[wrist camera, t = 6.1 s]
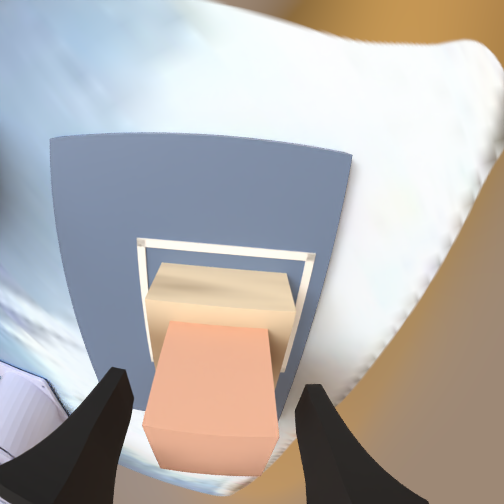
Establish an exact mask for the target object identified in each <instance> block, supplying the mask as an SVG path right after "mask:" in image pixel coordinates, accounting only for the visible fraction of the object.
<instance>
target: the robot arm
mask: <svg viewBox="0 0 504 504" xmlns="http://www.w3.org/2000/svg"><path fill="white" fill-rule="evenodd" d="M0 375H1V377H2V379H1V380H0V504H113V495H114V484H115V477H116V470H117V465H118V460H119V457H120V453H121V450H122V446H123V443H124V439H125V436H126V433H127V429H128V426H129V423H130V419H131V414H132V409H133V403H134V395H133V392H132V389H131V386H130V382H129V379H128V376H127V372H126V369H121V368H116V367H111V368H110V369H109V370H108V372H107V373H106V374H105V375H104V377H103V378H102V379H101V381H100V382H99V383H98V384H97V386H96V387H95V388H94V389H93V390H92V392H91V393H90V394H89V395H88V396H87V397H86V399H85V400H84V401H83V402H82V403H81V404H80V406H79V407H78V408H77V409H76V410H75V411H74V412H73V413H72V414H71V415H70V416H69V417H68V415H67V414H66V412H65V411H64V409H63V408H62V406H61V405H60V403H59V401H58V400H57V398H56V397H55V395H54V393H53V392H52V390H51V388H50V387H49V385H48V383H47V382H46V380H44V379H43V378H40V377H38V376H35V375H32V374H30V373H27V372H24V371H22V370H19V369H17V368H15V367H12V366H10V365H7V364H5V363H3V362H1V361H0ZM295 423H296V434H297V439H298V444H299V450H300V454H301V460H302V465H303V470H304V476H305V482H306V496H307V504H429V503H428V501H427V500H425V499H423V498H422V497H420V496H418V495H417V494H415V493H414V492H412V491H411V490H409V489H408V488H406V487H405V486H403V485H402V484H401V483H399V482H398V481H397V480H396V479H394V478H393V477H392V476H391V475H390V474H388V473H387V472H386V471H385V470H384V469H383V468H382V467H381V466H380V465H379V464H378V463H377V462H375V460H374V459H373V458H372V457H371V456H370V455H369V454H368V453H367V452H366V450H365V449H364V448H363V447H362V446H361V444H360V443H359V442H358V441H357V439H356V438H355V437H354V436H353V434H352V433H351V431H350V430H349V429H348V428H347V426H346V424H345V423H344V421H343V420H342V419H341V417H340V415H339V414H338V412H337V411H336V409H335V407H334V406H333V404H332V402H331V401H330V399H329V397H328V396H327V394H326V392H325V390H324V389H323V387H322V385H321V384H306V386H305V388H304V390H303V393H302V395H301V398H300V400H299V402H298V405H297V407H296V409H295Z"/></svg>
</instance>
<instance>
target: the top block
mask: <svg viewBox="0 0 504 504" xmlns="http://www.w3.org/2000/svg"><path fill="white" fill-rule="evenodd" d="M142 426H143V429H144V431H145V434H146V436H147V439H148V441H149V443H150V446H151V448H152V450H153V453H154V455H155V457H156V459H157V461H158V464H159V466H160V468H162V469H168V470H175V471H182V472H190V473H200V474H211V475H227V476H261V475H262V473H263V471H264V469H265V467H266V464H267V462H268V460H269V458H270V456H271V454H272V452H273V450H274V447H275V445H276V443H277V441H278V439H279V429H278V420H277V410H276V401H275V391H274V382H273V373H272V364H271V355H270V346H269V336H268V329H263V328H247V327H233V326H220V325H208V324H198V323H188V322H179V321H170V322H169V326H168V329H167V332H166V336H165V339H164V343H163V346H162V350H161V353H160V357H159V361H158V364H157V368H156V372H155V376H154V379H153V383H152V387H151V391H150V395H149V399H148V403H147V407H146V411H145V415H144V420H143V424H142Z"/></svg>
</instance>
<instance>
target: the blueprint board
mask: <svg viewBox="0 0 504 504" xmlns="http://www.w3.org/2000/svg"><path fill="white" fill-rule="evenodd" d="M352 156H353V155H351V154H348V153H345V152H340V151H335V150H330V149H324V148H319V147H313V146H307V145H300V144H294V143H287V142H279V141H272V140H263V139H255V138H245V137H234V136H222V135H208V134H189V133H105V134H88V135H74V136H63V137H56V138H52V139H50V168H51V184H52V196H53V205H54V214H55V222H56V229H57V235H58V241H59V247H60V252H61V258H62V263H63V268H64V272H65V277H66V281H67V285H68V289H69V293H70V297H71V301H72V305H73V308H74V312H75V315H76V319H77V322H78V325H79V329H80V332H81V335H82V338H83V341H84V344H85V347H86V349H87V352H88V355H89V358H90V361H91V363H92V366H93V368H94V371H95V373H96V376H97V378H98V381H99V382H100V381H101V379H102V378H103V377H104V375H105V374H106V373H107V372H108V370H109V369H110V368H111V367H116V368H121V369H126V372H127V376H128V379H129V382H130V386H131V389H132V392H133V395H134V403H133V409H137V410H142V411H146V407H147V403H148V399H149V395H150V391H151V387H152V383H153V379H154V376H155V372H156V371H155V366H154V360H153V354H152V348H151V342H150V335H149V328H148V321H147V313H146V305H145V297H146V295H147V293H148V291H149V289H150V286H151V284H152V282H153V280H154V278H155V276H156V274H157V272H158V270H159V268H160V265H161V263H162V262H163V263H173V264H184V265H195V266H206V267H217V268H228V269H240V270H252V271H265V272H277V273H287V277H288V281H289V285H290V289H291V293H292V297H293V301H294V305H295V308H296V315H295V319H294V323H293V327H292V331H291V334H290V338H289V342H288V346H287V349H286V353H285V356H284V360H283V364H282V367H281V371H280V374H279V378H278V381H277V384H276V388H275V401H276V410H277V420H278V421H279V418H280V416H281V413H282V410H283V408H284V405H285V402H286V400H287V397H288V394H289V391H290V389H291V386H292V383H293V380H294V377H295V374H296V371H297V369H298V366H299V363H300V360H301V357H302V354H303V351H304V347H305V344H306V341H307V338H308V335H309V332H310V328H311V325H312V322H313V319H314V315H315V312H316V308H317V305H318V302H319V298H320V295H321V291H322V287H323V284H324V280H325V276H326V273H327V269H328V265H329V261H330V257H331V253H332V249H333V245H334V241H335V237H336V233H337V228H338V224H339V220H340V215H341V211H342V206H343V202H344V197H345V192H346V187H347V182H348V177H349V172H350V167H351V161H352Z"/></svg>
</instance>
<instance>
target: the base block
mask: <svg viewBox="0 0 504 504" xmlns="http://www.w3.org/2000/svg"><path fill="white" fill-rule="evenodd" d="M145 305H146V313H147V321H148V328H149V335H150V342H151V348H152V354H153V360H154V366H155V371H156V368H157V364H158V361H159V357H160V353H161V350H162V346H163V343H164V339H165V336H166V332H167V329H168V326H169V322H170V321H179V322H188V323H198V324H208V325H220V326H233V327H247V328H263V329H268V336H269V346H270V355H271V364H272V373H273V382H274V391H275V388H276V384H277V381H278V378H279V374H280V371H281V367H282V364H283V360H284V356H285V353H286V349H287V346H288V342H289V338H290V334H291V331H292V327H293V323H294V319H295V315H296V308H295V305H294V301H293V297H292V293H291V289H290V285H289V281H288V277H287V273H277V272H265V271H252V270H240V269H228V268H217V267H206V266H195V265H184V264H173V263H163V262H162V263H161V265H160V268H159V270H158V272H157V274H156V276H155V278H154V280H153V282H152V284H151V286H150V289H149V291H148V293H147V295H146V297H145Z"/></svg>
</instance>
